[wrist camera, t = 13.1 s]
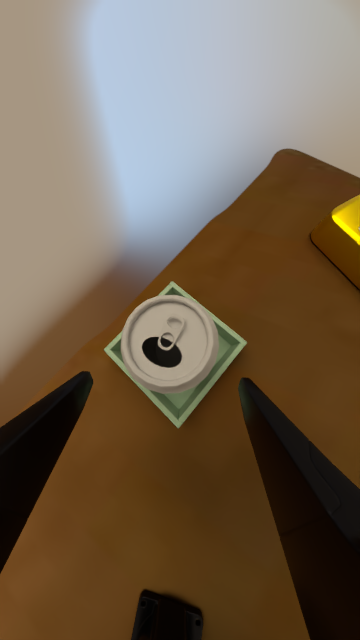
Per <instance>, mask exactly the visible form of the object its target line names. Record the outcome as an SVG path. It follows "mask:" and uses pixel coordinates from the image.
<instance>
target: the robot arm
mask: <svg viewBox="0 0 360 640" xmlns="http://www.w3.org/2000/svg"><path fill="white" fill-rule="evenodd" d="M92 385H93V379H92V376H91V374H90V372H88V371H82V372H80V373H79V374H77V375H76V376H74V377H73V378H71V379H70V380H68V381H67V382H66V383H64V384H63V385H61V386H60V387H58V388H57V389H55V390H54V391H53V392H51V393H50V394H48V395H47V396H45V397H44V398H42V399H41V400H39V401H38V402H37V403H35V404H34V405H32V406H31V407H29V408H28V409H26V410H25V411H24V412H22V413H21V414H19V415H18V416H16V417H15V418H13V419H12V420H10V421H9V422H8V423H6V424H5V425H4V426H2V427H1V428H0V573H1V571H2V569H3V567H4V565H5V564H6V562H7V560H8V558H9V556H10V554H11V552H12V550H13V548H14V546H15V544H16V542H17V540H18V538H19V536H20V534H21V532H22V530H23V528H24V526H25V524H26V522H27V519H28V518H29V516H30V514H31V512H32V510H33V508H34V506H35V504H36V502H37V500H38V498H39V496H40V494H41V492H42V490H43V488H44V486H45V484H46V482H47V480H48V478H49V476H50V474H51V472H52V470H53V468H54V466H55V464H56V462H57V460H58V458H59V456H60V454H61V452H62V450H63V448H64V446H65V444H66V442H67V440H68V438H69V436H70V434H71V432H72V430H73V429H74V427H75V425H76V423H77V421H78V419H79V417H80V415H81V413H82V410H83V408H84V406H85V403H86V401H87V398H88V396H89V393H90V390H91V388H92ZM238 390H239V396H240V401H241V406H242V411H243V416H244V420H245V424H246V427H247V430H248V434H249V437H250V440H251V444H252V447H253V450H254V454H255V457H256V460H257V463H258V467H259V470H260V473H261V477H262V480H263V483H264V487H265V490H266V493H267V497H268V500H269V503H270V507H271V510H272V513H273V517H274V520H275V523H276V527H277V530H278V533H279V536H280V540H281V544H282V547H283V550H284V553H285V557H286V560H287V563H288V567H289V570H290V573H291V577H292V580H293V583H294V587H295V590H296V593H297V597H298V600H299V603H300V607H301V610H302V613H303V617H304V620H305V623H306V627H307V630H308V633H309V637H310V640H360V489H359V488H358V487H357V486H356V485H355V484H354V483H352V482H351V481H350V480H349V479H348V478H347V477H346V476H345V475H344V474H343V473H342V472H341V471H340V470H339V469H338V468H337V467H335V466H334V465H333V464H332V463H331V462H330V461H329V460H328V459H327V458H326V457H325V456H324V455H323V454H322V453H321V452H320V451H319V450H318V449H317V448H316V447H315V446H314V444H313V443H312V442H311V441H309V440H308V438H307V437H306V436H305V435H304V434H303V433H302V432H301V431H300V430H299V429H298V428H297V427H296V426H295V425H294V424H293V423H292V422H291V421H290V420H289V419H288V418H287V417H286V416H285V415H284V414H283V413H282V411H281V410H280V409H279V408H278V407H277V406H276V405H275V404H274V403H273V402H272V401H271V400H270V399H269V398H268V397H267V396H266V395H265V394H264V393H263V392H262V391H261V390H260V389H259V388H258V387H257V386H256V385H255V384H254V383H253V381H252V380H251V379H249V378H241V380H240V383H239V387H238ZM143 600H144V601H143ZM197 619H199V620H197ZM202 628H203V617H202V612H201V611H200V610H199V609H196V608H193V607H190V606H187V605H184V604H182V603H179V602H176V601H173V600H170V599H167V598H164V597H161V596H158V595H155V594H153V593H150V592H147V591H143V592H142V593H141V594H140V598H139V603H138V608H137V613H136V618H135V623H134V628H133V633H132V638H131V640H201V637H202Z"/></svg>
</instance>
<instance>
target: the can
mask: <svg viewBox="0 0 360 640" xmlns="http://www.w3.org/2000/svg"><path fill="white" fill-rule="evenodd" d="M218 349H219V340H218V331H217V328H216V326H215V324H214V321H213V319H212V317H211V316H210V315H209V314H208V312H207V311H206V310H205V309H204V308H203V307H202V306H201V305H199V304H198V303H196V302H195V301H193V300H191V299H190V298H186V297H182V296H178V295H160V296H157V297H154V298H151V299H148V300H146V301H145V302H143V303H142V304H141V305H139V306H138V307H136V308H135V310H134V311H133V312H132V314H131V315H130V316H129V317H128V319H127V321H126V324H125V326H124V329H123V332H122V335H121V354H122V357H123V361H124V365H125V367H126V368H127V370H128V371H129V373H130V374H131V376H132V377H133V379H134V380H136V381H137V382H138V383H140V384H141V385H142V386H144V387H145V388H146V389H149V390H152V391H155V392H158V393H162V394H168V393H180V392H183V391H186V390H188V389H191V388H193V387H195V386H196V385H197V384H199V383H200V382H201V381H202V380H203V379H204V378H206V377H207V376H208V374H209V372H210V371H211V369H212V367H213V366H214V364H215V362H216V358H217V354H218Z"/></svg>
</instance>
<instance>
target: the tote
mask: <svg viewBox="0 0 360 640" xmlns="http://www.w3.org/2000/svg"><path fill="white" fill-rule="evenodd" d="M160 295H178V296H182V297H186V298H190V299H191V300H193V301H195V302H196V303H198V302H197V301H196V300H195V299H194V298H192V297H191V296H190V295H189V294H187V293H186V292H185V291H184V290H182V289H181V288H180V287H179V286H178V285H176V284H175V283H174V282H173V281H172V282H171V283H170V284H169V285H168V286H167V287H166V288H165V289H164V290H163V291H162V292H161V293H160V294H159V295H158V296H160ZM198 304H199V305H201V304H200V303H198ZM201 306H202V305H201ZM202 307H203V306H202ZM203 308H204V309H205V310H206V311H207V312H208V314H209V315H210V316H211V317H212V319H213V321H214V324H215V326H216V328H217V331H218V340H219V349H218V354H217V358H216V362H215V364H214V366H213V367H212V369H211V371H210V372H209V374H208V376H207V377H206V378H204V379H203V380H202V381H201V382H200V383H199V384H197V385H196V386H195V387H193V388H191V389H188V390H186V391H183V392H180V393H168V394H162V393H158V392H155V391H152V390H149V389H146V388H145V387H144V386H142V385H141V384H140V383H138V382H137V381H136V380H134V379H133V377H132V376H131V374H130V373H129V371H128V370H127V368H126V367H125V365H124V361H123V357H122V354H121V335H122V332H123V331H122V332H121V333H120V334H119V335H118V336H117V337H116V338H115V339H114V340H113V341H112V342H111V343H110V344H109V345H108V346H107V347H106V348H105V349H104V351H105V352H106V353H107V354H108V355H109V356H110V357H111V358H112V359H113V360H114V361H115V363H116V364H117V365H118V366H119V367H120V368H121V369H122V370H123V371H124V372H125V373H126V374H127V375H128V376H129V377H130V378H131V379H132V380H133V381H134V383H135V384H136V385H137V386H138V387H139V388H140V389H141V390H142V391H143V392H144V393H145V394H146V395H147V396H148V397H149V398H150V399H151V400H152V401H153V403H154V404H155V405H156V406H157V407H158V408H159V409H160V410H161V411H162V412H163V413H164V414H165V415H166V416H167V417H168V418H169V419H170V420H171V421H172V423H173V424H174V425H175V426H176V427H177V428H179V427H180V426H181V425H182V424H183V422H184V421H185V420H186V419H187V417H188V416H189V415H190V414H191V412H192V411H193V410H194V409H195V407H196V406H197V405H198V404H199V402H200V401H201V400H202V399H203V397H204V396H205V395H206V393H207V392H208V391H209V390H210V388H211V387H212V386H213V385H214V383H215V382H216V381H217V380H218V378H219V377H220V376H221V375H222V373H223V372H224V371H225V370H226V368H227V367H228V366H229V365H230V363H231V362H232V361H233V360H234V358H235V357H236V356H237V355H238V353H239V352H240V351H241V350H242V348H243V347H244V346H245V345H246V343H247V342H246V341H245V340H244V339H242V338H241V337H240V336H239V335H238V334H236V333H235V332H234V331H233V330H231V329H230V328H229V327H228V326H227V325H225V324H224V323H223V322H222V321H220V320H219V319H218V318H217V317H216V316H214V315H213V314H212V313H211V312H209V311H208V310H207V309H206V308H205V307H203Z"/></svg>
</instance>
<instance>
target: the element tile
mask: <svg viewBox="0 0 360 640" xmlns="http://www.w3.org/2000/svg"><path fill="white" fill-rule="evenodd" d="M311 239H312V241H313V243H314V244H315V245H316V246H317V247H318V248H319V249H320V250H321V251H322V252H323V253H324V254H325V255H326V256H327V257H328V258H329V259H330V260H331V261H332V262H333V263H334V264H335V265H336V266H337V267H338V268H339V269H340V270H341V271H342V272H343V273H344V274H345V275H346V276H347V278H348V279H349V280H350V281H351V282H352V283H353V284H354V285H355V286H356V287H357V288H358V289H359V290H360V195H358V196H356V197H354V198H352V199H351V200H349V201H347V202H345V203H343V204H342V205H340V206H338V207H336V208H335V209H334V210H332V211H331V212H330V213H329V214H328V215H327V216H326V217H325V218H324V219H323V220H322V221H321V222H320V223H319V224H318V226H317V227H316V228H315V229H314V230H313V231H312V233H311Z"/></svg>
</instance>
